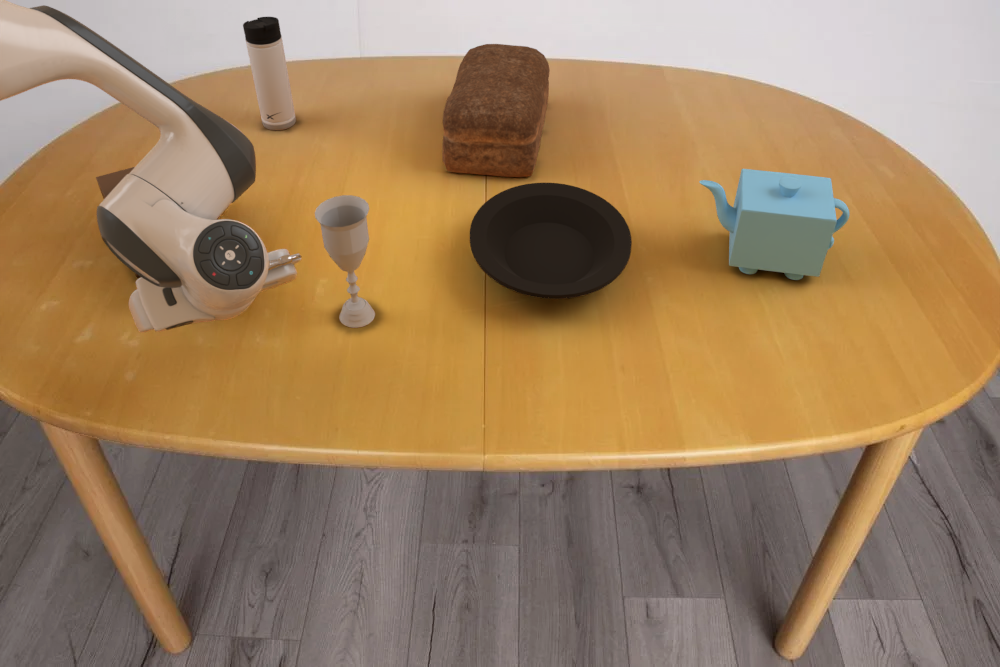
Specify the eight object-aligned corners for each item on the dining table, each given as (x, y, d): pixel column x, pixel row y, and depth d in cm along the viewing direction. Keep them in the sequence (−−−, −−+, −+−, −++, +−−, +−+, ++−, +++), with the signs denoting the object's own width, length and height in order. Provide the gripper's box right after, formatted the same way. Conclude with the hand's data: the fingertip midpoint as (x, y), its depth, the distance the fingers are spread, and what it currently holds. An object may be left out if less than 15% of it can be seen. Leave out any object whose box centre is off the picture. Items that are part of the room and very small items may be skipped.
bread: (551, 99, 172) (554, 34, 163) (535, 184, 150) (537, 114, 141) (465, 93, 174) (464, 29, 165) (437, 176, 151) (433, 107, 142)
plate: (642, 322, 124) (646, 292, 120) (473, 328, 123) (472, 297, 119) (612, 209, 144) (615, 180, 140) (467, 213, 143) (467, 184, 139)
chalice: (361, 338, 121) (346, 233, 109) (322, 322, 123) (303, 217, 111) (391, 308, 126) (380, 204, 113) (352, 293, 128) (337, 189, 116)
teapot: (830, 244, 137) (854, 168, 128) (835, 288, 129) (861, 211, 120) (688, 227, 141) (702, 152, 131) (685, 269, 132) (699, 192, 123)
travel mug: (275, 135, 162) (254, 30, 148) (256, 122, 165) (234, 18, 152) (303, 123, 165) (286, 20, 151) (284, 111, 168) (266, 8, 155)
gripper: (294, 228, 105) (279, 251, 118) (120, 284, 98) (125, 301, 111) (313, 277, 106) (296, 294, 118) (142, 336, 98) (143, 348, 111)
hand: (212, 298), depth 114 cm, fingers closed
